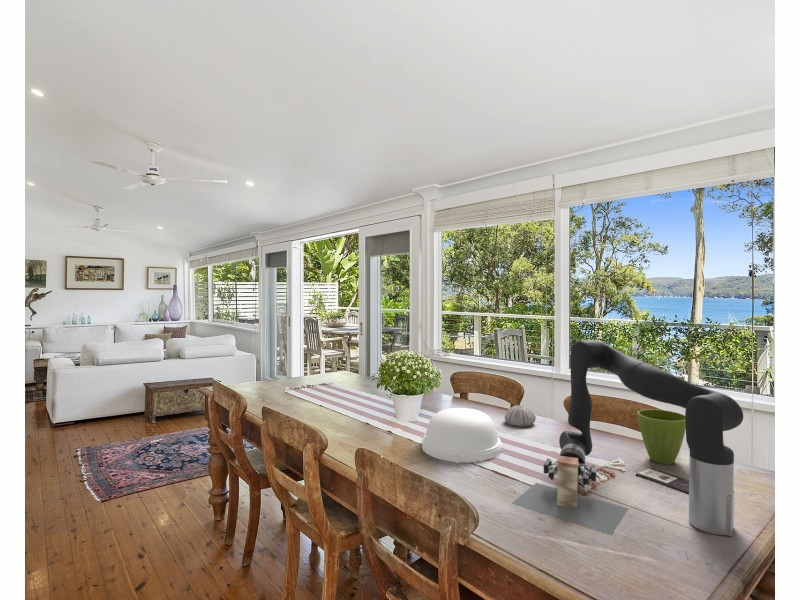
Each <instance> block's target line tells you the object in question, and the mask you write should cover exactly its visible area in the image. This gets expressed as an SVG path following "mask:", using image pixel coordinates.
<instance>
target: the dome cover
mask: <svg viewBox="0 0 800 600" xmlns="http://www.w3.org/2000/svg"><path fill="white" fill-rule="evenodd" d="M425 432H426V433H425V434H424V435H423V437H422V440H421V449H422V451H423V452H424V453H425V454H426V455H428V456H430V457H433V458H435V459H437V460H442V461H446V462H454V463H455V464H460V463H478V462H477V461H481V460H487V459H490V460H492V459H491V458H493V457H496V456H497V455H499V454H500V453H501V454H502V452H503V445H502V441H501V438H500V437H499V436H498V431H497V427H496V424H495V422H494V421H493V419H492V418H491V417H490V416H489V415H488V414H487V413H485V412H483V411H482V410H481V411H480V410H478V409H474V408H468V407H467V408H466V407H451V408H446V409H443V410H440V411H438V412H436V413H435V414H434V415H433V416H431V418H430V420H429V421H428V424H427V426H426V431H425ZM501 451H502V452H501ZM501 454H500V455H501ZM500 455H499V456H500ZM497 457H498V456H497ZM497 457H496V458H497ZM493 459H494V458H493ZM487 461H488V460H487ZM481 462H482V461H481Z"/></svg>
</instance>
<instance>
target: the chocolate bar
mask: <svg viewBox="0 0 800 600" xmlns="http://www.w3.org/2000/svg"><path fill="white" fill-rule="evenodd" d="M635 476H636V477H639V478H642V479H644V480H648V481H651V482H653V483H656V484H658V485H662V486H664V487H667V488H670V489H672V490H676V491H679V492H681V493H684V494H687V495H689V479H688V478H684V477H681V476H677V475H675V474H672V473H668V472H665V471H662V470H659V469H655V468H653V467H650V468H648V469H645V470H642V471H640V472H637V473H636V474H635Z"/></svg>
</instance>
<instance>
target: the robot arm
mask: <svg viewBox="0 0 800 600" xmlns="http://www.w3.org/2000/svg"><path fill="white" fill-rule="evenodd" d="M569 356H570V357H569V363H570V364H569V366H570V367H569V368H570V400H569V401H570V403H569V409H568V416H567V422H568V424H569V426H571V427H573V428H574V429H577V430H578V431H580V432H581V433H579V432H576V431H572V430H564V431H562V433H560V436H559V439H558V441H559V447H560V453H559V456H566V457H573V458H578V479H580V480H582V485H583V486H586V485H588V484H589V483H590V480H591V481H592V482H596V481H597V469H596V465H594V464H592V465H590V466H586V456H589V455H590V454H591V452H592V450H593V439H592V435H591V418H592V411H593V400H592V397H591V395H590V391H589V389H588V384H587V374H588V370H589V369H603V370H606V371H608V372H609V373H612V374H613V375H614V374H615V375H616V376H617V378H618V379H619V380H620V382H621V383H622V384H623V386H625V387H626V388H627V389H629V391H632V392H634V393H636V394H638V395H640V396H641V397H642V396H643V397H644V398H647V399H650V400H652V401H657V402H659V403H660V402H661V403H665V404H668V405H669V404H670V405H674V406H677V407H680V408H683V409H685V425H686V429H685V440H686V443H687V444H686V445H687V446H688V449H689V464H688V465H689V467H688V468H689V469H688V471H689V474H688V475H689V477H688V480H689V494H688V522H689V524H690V525H691V526H693V527H694V528H695V529H698V530H700V531H702V532H705V533H708V534H711V535H717V536H727V537H732V536H733V530H734V525H735V524H734V521H735V520H734V519H735V514H734V512H735V490H734V470H735V453H734V451H733V449H732V448H730V447H729V446H727V445H725V444H724V432H726V431H731V430H733V429H736V428H738V427H739V426H740V425H741V424H742V422H743V421H744V412H743V409H742V407H741V406H740V404H739V403H738V402H737V401H736V400H735V399H733V398H732V397H730V396H729V395H727V394H725V393H721V392H718V391H715V390H712V389H709V388H707V387H702V386H700V385H697V384H695V383H691V382H689V381H687V380H685V379H683V378H681V377H679V376H677V375H674V374H672V373H670V372H667V371H665V370H663V369H661V368H659V367H656V366H654V365H653V364H650V363H648V362H645V361H643V360H640V359H638V358H635V357H633V356H630V355H627V354H625V353H624V352H623V353H622V352H620V351H618V350H617V349H615V348H613V347H612V346H611V345H608V344H607V343H605V342H604V341H600V340H595V339H587V340H586V339H585V340H582V339H581V340H578V341H575V342H574V343H573V345H572V346H571V349H570V355H569ZM557 465H558V460H556V461H554V462H553V461H552V460H551V458H546V459H545V462H544V463H543V473H544V474H545V475H546V474H547V475H548V479H550V480H551V481H553V480H554V478H555V476H556V475H557Z"/></svg>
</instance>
